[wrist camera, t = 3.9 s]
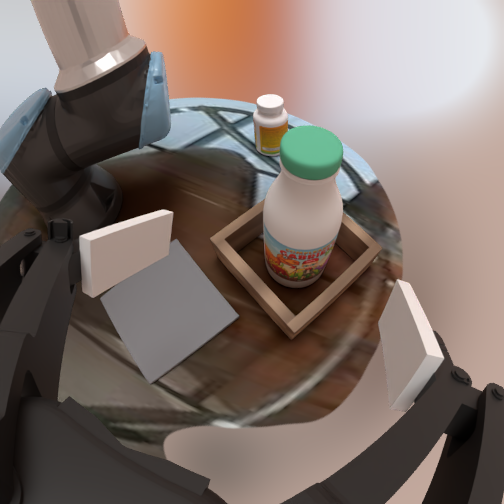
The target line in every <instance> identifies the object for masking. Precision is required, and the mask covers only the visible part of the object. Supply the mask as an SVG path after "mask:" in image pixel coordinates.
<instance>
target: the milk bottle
mask: <svg viewBox="0 0 504 504" xmlns="http://www.w3.org/2000/svg"><path fill="white" fill-rule="evenodd" d="M342 158H343V146H342V143H341V141H340V140H339V139H338V137H337V136H335V135H334V134H333V133H332V132H330V131H328V130H326V129H323V128H321V127H317V126H299V127H295V128H293V129H291V130H289V131H287V132H286V133H285V134H284V135H283V137H282V139H281V142H280V167H281V169H282V170H281V172H280V174H279V176H278V177H277V178H276V179H275V181H274V182H273V183H272V185H271V186H270V188H269V190H268V192H267V195H266V198H265V202H264V208H263V231H264V250H265V262H266V267H267V270H268V272H269V274H270V275H271V276H272V278H273V279H274V280H275V281H277V282H278V283H280V284H281V285H284V286H286V287H291V288H302V287H306V286H308V285H311V284H312V283H314V282H315V281H316V280H317V279H318V278H319V277H320V276H321V274H322V272H323V270H324V268H325V266H326V264H327V261H328V259H329V256H330V254H331V251H332V249H333V246H334V243H335V241H336V238H337V235H338V232H339V229H340V226H341V222H342V215H343V205H342V199H341V195H340V192H339V189H338V187H337V184H336V181H335V178H336V176H337V175H338V173H339V170H340V165H341V162H342Z"/></svg>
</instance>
